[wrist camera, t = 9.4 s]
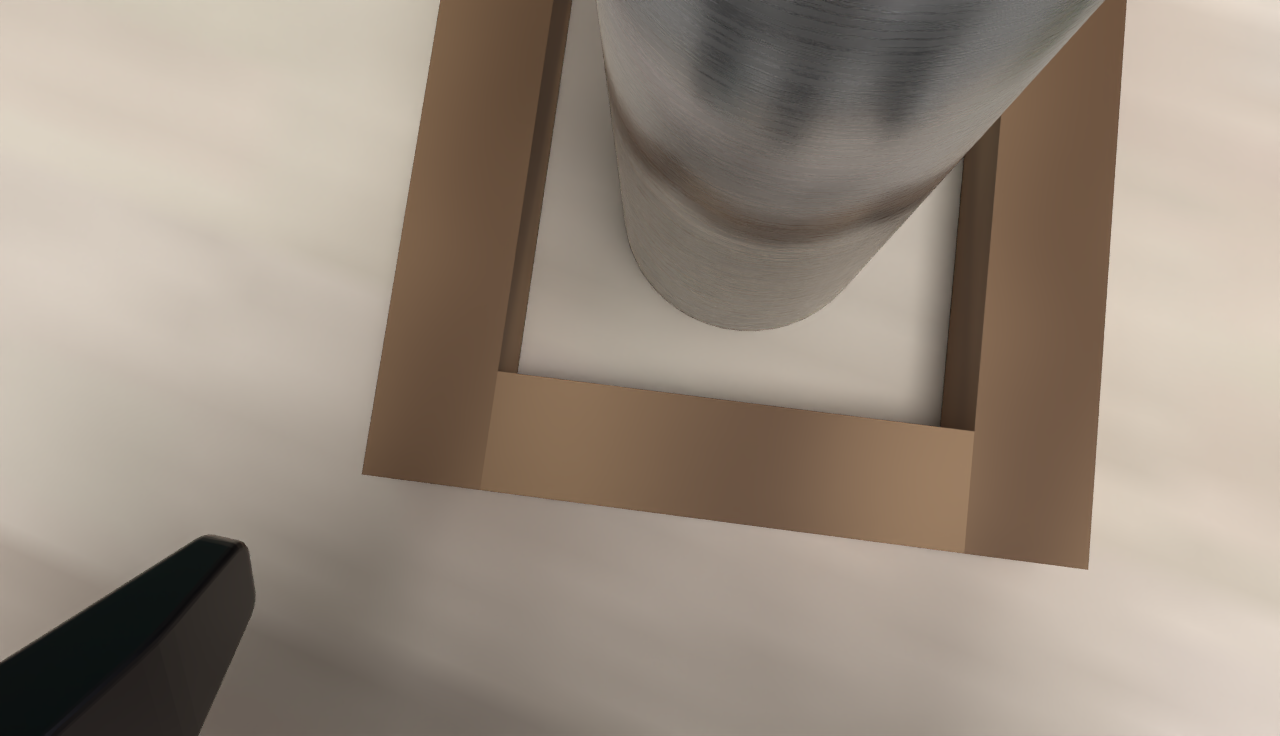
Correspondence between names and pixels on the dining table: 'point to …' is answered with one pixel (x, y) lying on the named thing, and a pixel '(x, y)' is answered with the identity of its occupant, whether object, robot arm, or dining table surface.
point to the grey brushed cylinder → (800, 132)
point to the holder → (745, 432)
